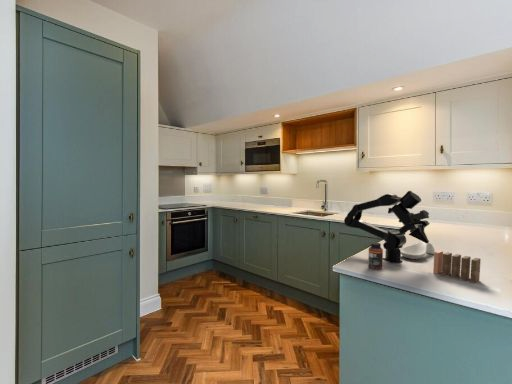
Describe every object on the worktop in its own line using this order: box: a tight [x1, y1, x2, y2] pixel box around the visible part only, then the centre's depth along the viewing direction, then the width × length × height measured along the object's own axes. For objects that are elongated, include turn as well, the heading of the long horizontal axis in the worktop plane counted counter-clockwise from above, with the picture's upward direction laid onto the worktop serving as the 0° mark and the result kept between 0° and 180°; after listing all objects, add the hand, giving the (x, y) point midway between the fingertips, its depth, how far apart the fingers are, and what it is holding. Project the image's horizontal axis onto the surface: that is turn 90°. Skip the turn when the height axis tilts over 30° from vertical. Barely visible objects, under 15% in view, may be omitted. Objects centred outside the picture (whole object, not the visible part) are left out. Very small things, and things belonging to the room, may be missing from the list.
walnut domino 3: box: [459, 255, 472, 282], centre depth 114 cm, size 2×5×9 cm, turn 127°
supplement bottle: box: [367, 241, 384, 271], centre depth 127 cm, size 6×6×11 cm
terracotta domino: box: [432, 250, 444, 275], centre depth 122 cm, size 2×5×9 cm, turn 127°
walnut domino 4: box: [469, 257, 481, 284], centre depth 112 cm, size 2×5×9 cm, turn 127°
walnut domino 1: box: [441, 251, 453, 277], centre depth 120 cm, size 2×5×9 cm, turn 127°
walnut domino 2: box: [450, 253, 462, 279], centre depth 117 cm, size 2×5×9 cm, turn 127°
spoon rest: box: [399, 241, 436, 260], centre depth 147 cm, size 24×12×7 cm, turn 122°
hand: (427, 242), depth 125 cm, fingers closed
